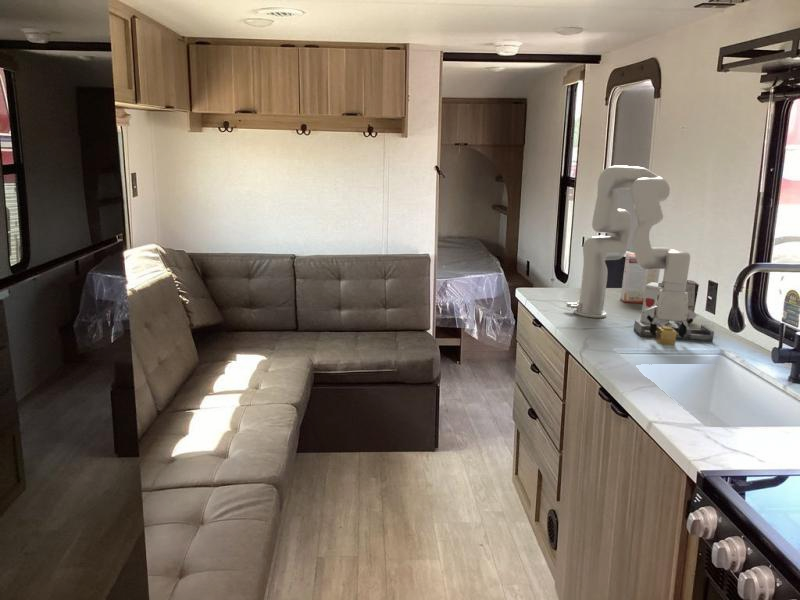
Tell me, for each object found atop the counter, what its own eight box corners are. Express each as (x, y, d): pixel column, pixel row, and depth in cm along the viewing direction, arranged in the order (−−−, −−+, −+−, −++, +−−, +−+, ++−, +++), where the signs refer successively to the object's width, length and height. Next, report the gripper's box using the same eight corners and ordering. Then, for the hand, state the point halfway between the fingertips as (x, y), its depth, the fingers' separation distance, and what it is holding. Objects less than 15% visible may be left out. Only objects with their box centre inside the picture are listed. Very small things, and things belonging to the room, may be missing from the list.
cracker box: (650, 301, 290) (657, 255, 285) (655, 304, 284) (662, 257, 279) (619, 299, 290) (625, 253, 285) (623, 302, 284) (630, 255, 280)
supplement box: (639, 321, 252) (644, 284, 248) (646, 317, 259) (651, 281, 255) (663, 326, 246) (669, 288, 243) (669, 322, 253) (675, 285, 250)
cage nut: (659, 344, 222) (662, 328, 221) (655, 340, 227) (657, 325, 226) (674, 345, 222) (676, 329, 221) (669, 341, 227) (672, 326, 226)
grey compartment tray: (640, 336, 230) (641, 326, 229) (633, 330, 239) (635, 319, 238) (712, 342, 228) (714, 331, 227) (702, 335, 237) (704, 324, 236)
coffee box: (692, 325, 252) (699, 284, 248) (675, 323, 253) (681, 283, 249) (687, 319, 260) (694, 280, 256) (670, 317, 261) (676, 278, 258)
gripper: (651, 287, 217) (644, 336, 221) (704, 291, 216) (696, 340, 219) (644, 283, 224) (638, 330, 228) (695, 286, 223) (688, 334, 227)
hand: (666, 335), depth 224 cm, fingers open, 9 cm apart
